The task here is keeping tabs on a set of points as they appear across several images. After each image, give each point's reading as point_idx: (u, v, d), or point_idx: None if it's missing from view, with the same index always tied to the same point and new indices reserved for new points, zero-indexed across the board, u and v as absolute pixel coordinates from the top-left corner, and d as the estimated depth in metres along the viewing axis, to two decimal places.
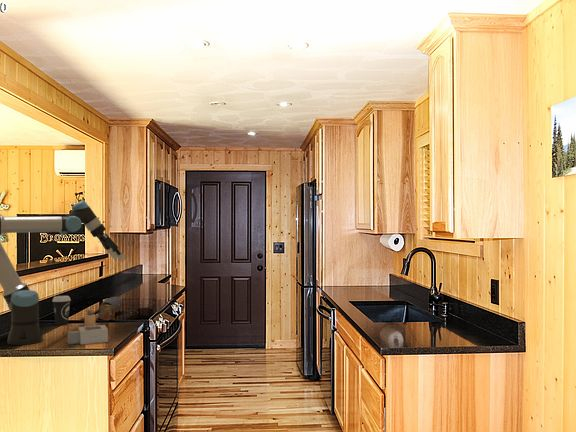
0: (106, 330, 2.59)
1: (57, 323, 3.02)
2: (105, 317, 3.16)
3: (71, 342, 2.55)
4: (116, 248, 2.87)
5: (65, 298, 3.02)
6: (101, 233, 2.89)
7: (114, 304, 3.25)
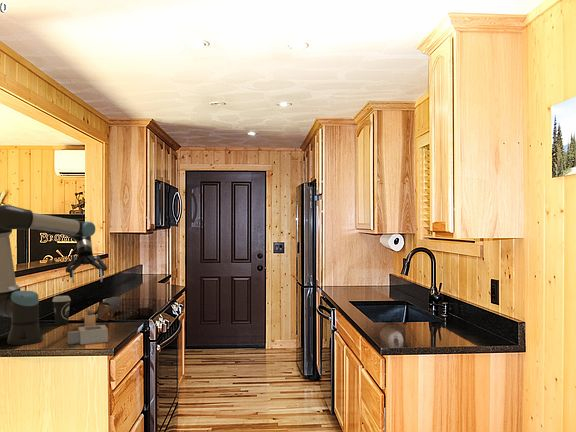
0: (106, 330, 2.59)
1: (57, 323, 3.02)
2: (104, 317, 3.15)
3: (71, 342, 2.55)
4: (106, 269, 2.93)
5: (65, 298, 3.02)
6: (92, 255, 2.97)
7: (113, 304, 3.24)
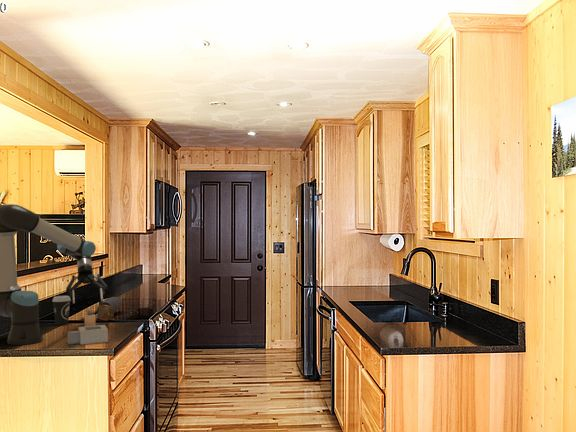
0: (106, 330, 2.59)
1: (57, 323, 3.02)
2: (103, 317, 3.15)
3: (71, 342, 2.55)
4: None
5: (65, 298, 3.02)
6: None
7: (113, 304, 3.24)
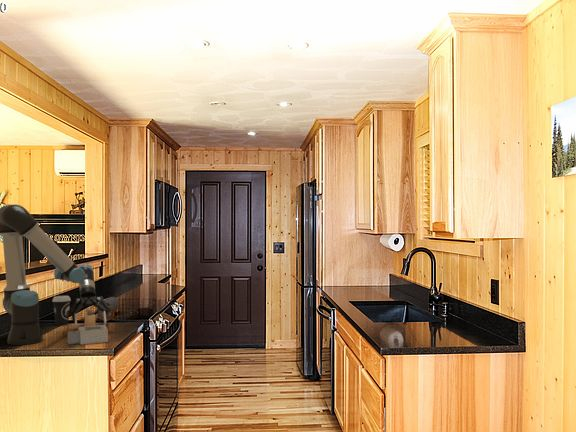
0: (106, 330, 2.59)
1: (57, 323, 3.02)
2: None
3: (71, 342, 2.55)
4: (110, 310, 2.82)
5: (65, 298, 3.02)
6: (95, 295, 2.86)
7: (113, 304, 3.24)
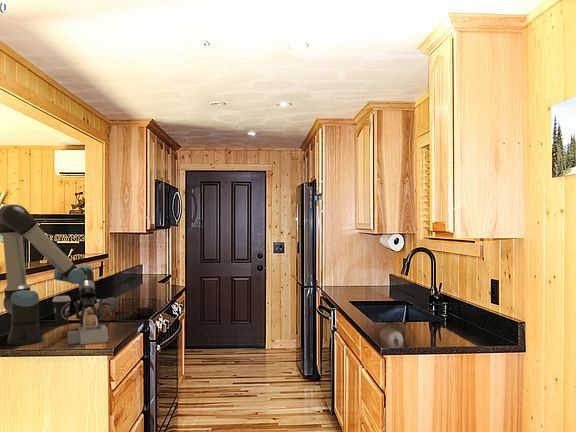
0: (106, 330, 2.59)
1: (57, 323, 3.02)
2: (105, 317, 3.15)
3: (71, 342, 2.55)
4: (102, 315, 2.78)
5: (65, 298, 3.02)
6: None
7: (113, 304, 3.24)
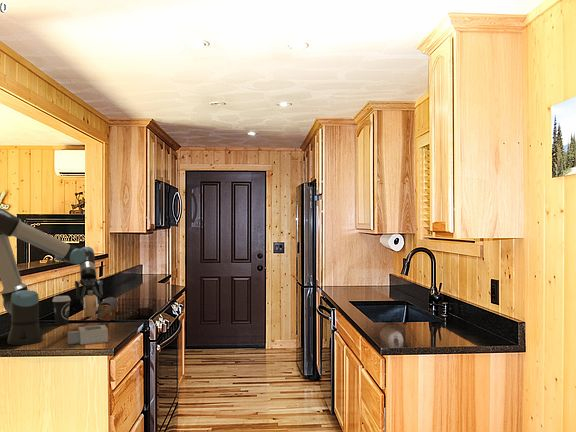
0: (106, 330, 2.59)
1: (57, 323, 3.02)
2: (105, 317, 3.14)
3: (71, 342, 2.55)
4: (102, 296, 2.79)
5: (65, 298, 3.02)
6: None
7: (112, 304, 3.24)
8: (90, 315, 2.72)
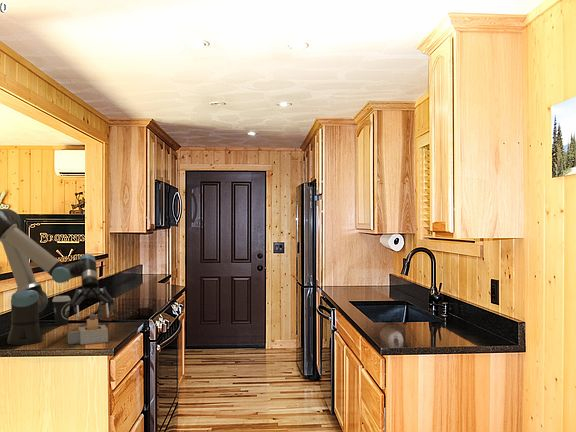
0: (106, 330, 2.59)
1: (57, 323, 3.02)
2: (106, 318, 3.14)
3: (71, 342, 2.55)
4: (113, 302, 2.69)
5: (65, 298, 3.02)
6: (98, 286, 2.72)
7: None
8: None
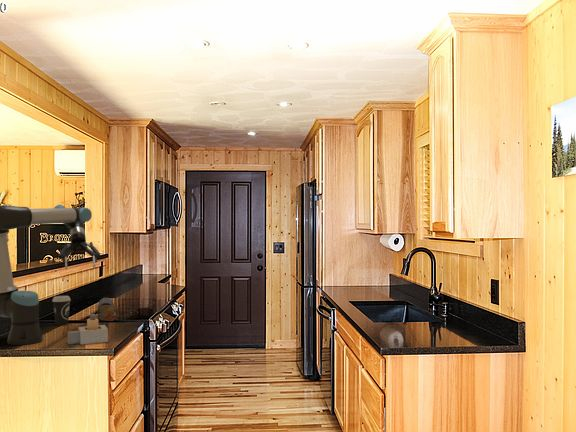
0: (106, 330, 2.59)
1: (57, 323, 3.02)
2: (107, 318, 3.14)
3: (71, 342, 2.55)
4: (99, 255, 2.94)
5: (65, 298, 3.02)
6: (85, 242, 2.97)
7: (112, 305, 3.23)
8: None
